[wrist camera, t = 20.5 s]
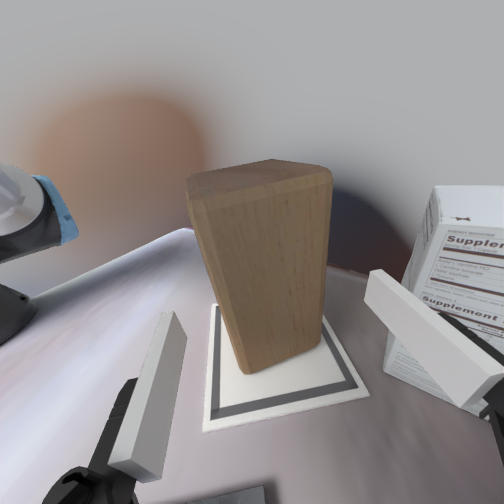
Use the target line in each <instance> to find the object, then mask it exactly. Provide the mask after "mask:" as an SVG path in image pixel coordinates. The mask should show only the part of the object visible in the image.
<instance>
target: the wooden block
mask: <svg viewBox="0 0 504 504" xmlns="http://www.w3.org/2000/svg"><path fill="white" fill-rule="evenodd" d="M332 189H333V178H332V174H331V171H330V170H329V169H327V168H325V167H321V166H319V165H312V164H305V163H297V162H290V161H283V160H275V159H269V160H264V161H259V162H254V163H249V164H243V165H239V166H233V167H228V168H223V169H217V170H212V171H207V172H202V173H197V174H193V175H191V176H190V177H189V178H187V179H186V198H187V210H188V214H189V217H190V220H191V223H192V226H193V229H194V232H195V235H196V238H197V241H198V244H199V247H200V250H201V253H202V256H203V260H204V263H205V266H206V269H207V272H208V275H209V278H210V281H211V284H212V287H213V290H214V293H215V296H216V299H217V302H218V305H219V308H220V311H221V314H222V317H223V321H224V324H225V327H226V330H227V333H228V336H229V339H230V342H231V345H232V348H233V351H234V354H235V357H236V360H237V363H238V366H239V369H240V370H241V371H242V373H243V374H245V375H250V374H253V373H255V372H258V371H260V370H262V369H265V368H267V367H270V366H272V365H274V364H277V363H279V362H281V361H284V360H286V359H289V358H291V357H293V356H296V355H298V354H300V353H303V352H305V351H308V350H310V349H312V348H315V347H316V346H317V345H318V344H319V343H320V342H321V330H322V317H323V304H324V291H325V279H326V266H327V253H328V240H329V226H330V214H331V202H332Z"/></svg>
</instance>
